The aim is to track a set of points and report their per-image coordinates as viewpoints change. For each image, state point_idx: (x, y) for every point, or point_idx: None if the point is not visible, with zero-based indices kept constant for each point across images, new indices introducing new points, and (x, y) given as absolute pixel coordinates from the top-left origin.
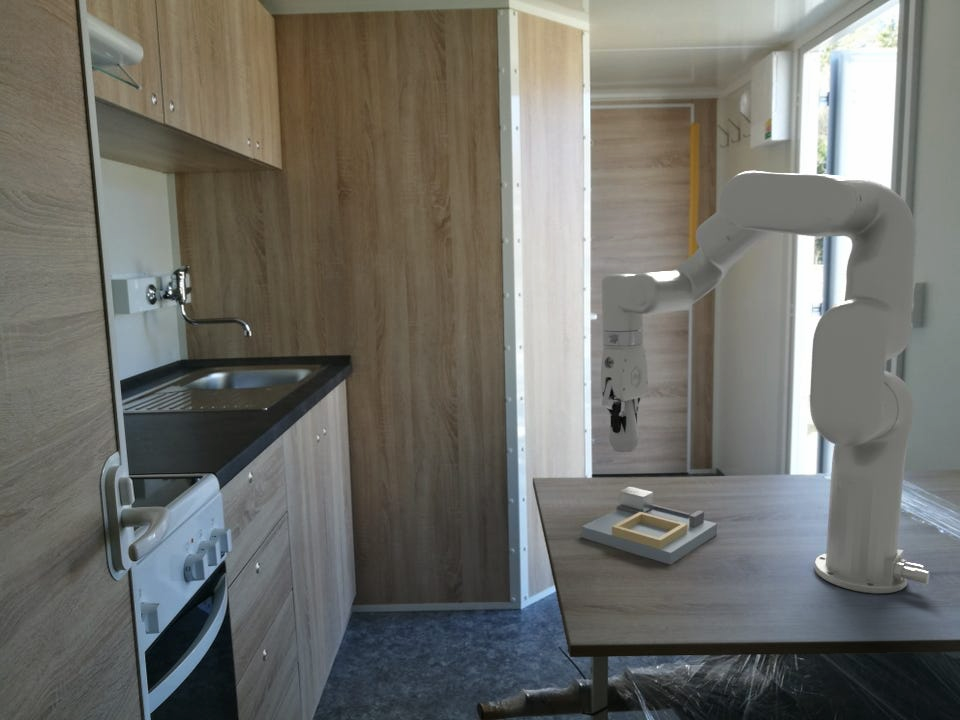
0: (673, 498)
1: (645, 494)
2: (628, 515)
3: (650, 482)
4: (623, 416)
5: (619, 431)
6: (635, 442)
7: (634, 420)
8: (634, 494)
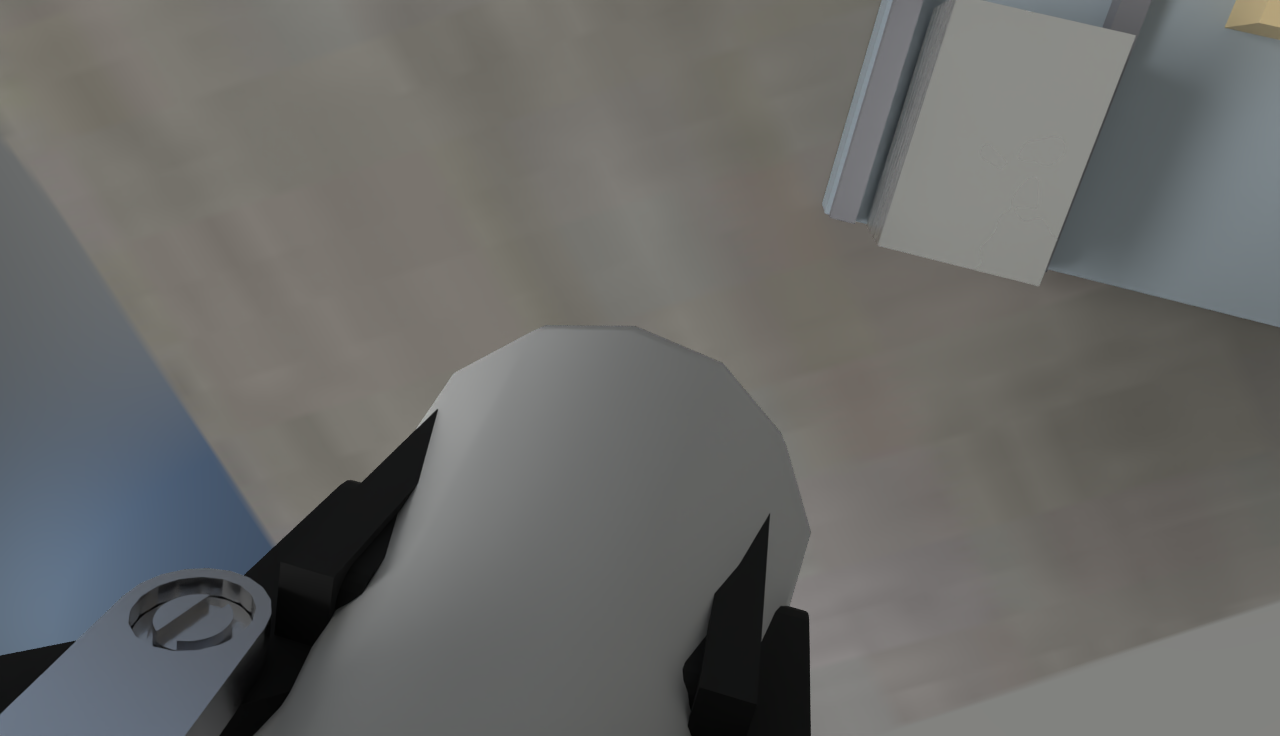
0: (413, 12)
1: (1055, 40)
2: (1149, 143)
3: (193, 261)
4: (747, 732)
5: (798, 609)
6: (667, 340)
7: (530, 503)
8: (1097, 134)
